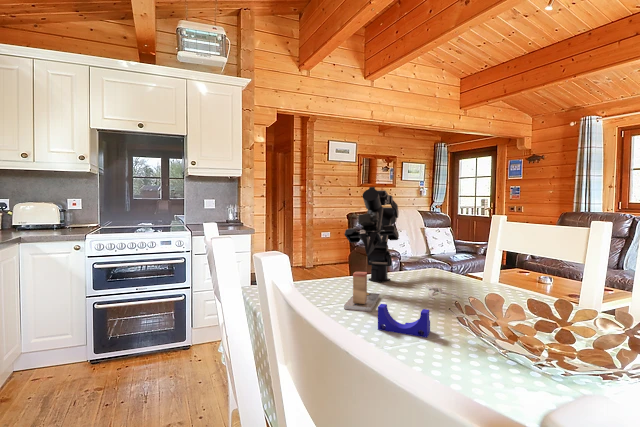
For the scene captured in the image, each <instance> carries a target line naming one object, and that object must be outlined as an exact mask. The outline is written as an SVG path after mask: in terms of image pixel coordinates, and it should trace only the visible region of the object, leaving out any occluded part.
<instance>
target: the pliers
mask: <svg viewBox="0 0 640 427" xmlns="http://www.w3.org/2000/svg"><path fill="white" fill-rule="evenodd" d="M425 289H427V290H428V293H427V296H428V297H429V298H431V299H433V300H436V297H434V296H435V295H438V293H440V295H441V294H442V295H447V296H448V295H449V296H453V297H456V298H458V299H462V297H461V296H460V295H459V294H457V293H453V292H451V291H445V290H443V289H442V287H439V286H437V285H436V284H432V285H429V284H427V283H426V284H425Z"/></svg>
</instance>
